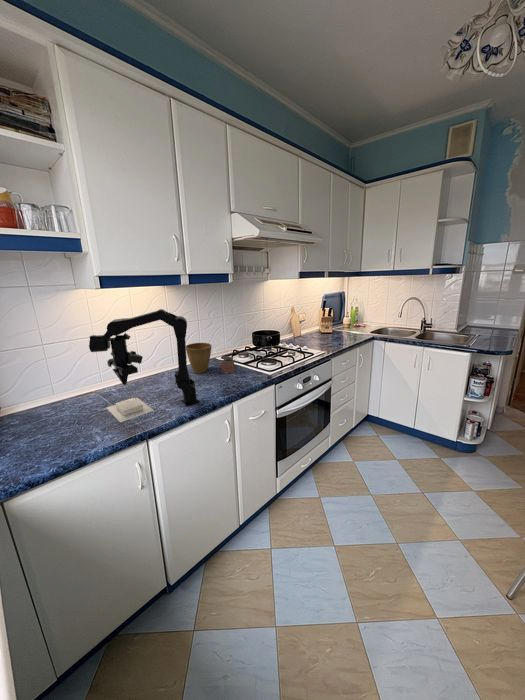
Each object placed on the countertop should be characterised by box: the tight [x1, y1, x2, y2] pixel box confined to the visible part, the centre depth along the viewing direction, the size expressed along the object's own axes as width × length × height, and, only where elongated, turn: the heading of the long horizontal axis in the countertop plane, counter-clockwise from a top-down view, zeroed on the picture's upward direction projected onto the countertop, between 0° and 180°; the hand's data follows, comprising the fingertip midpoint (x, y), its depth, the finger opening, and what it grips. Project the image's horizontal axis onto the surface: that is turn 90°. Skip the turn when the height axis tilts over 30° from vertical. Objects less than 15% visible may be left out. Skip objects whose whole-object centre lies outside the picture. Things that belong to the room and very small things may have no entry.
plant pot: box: [186, 342, 212, 374], centre depth 172 cm, size 15×15×16 cm
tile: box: [114, 397, 143, 416], centre depth 127 cm, size 2×8×10 cm
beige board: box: [106, 397, 154, 423], centre depth 128 cm, size 18×14×1 cm
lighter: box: [220, 355, 236, 375], centre depth 170 cm, size 8×3×10 cm, turn 84°
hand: (124, 384), depth 125 cm, fingers closed
